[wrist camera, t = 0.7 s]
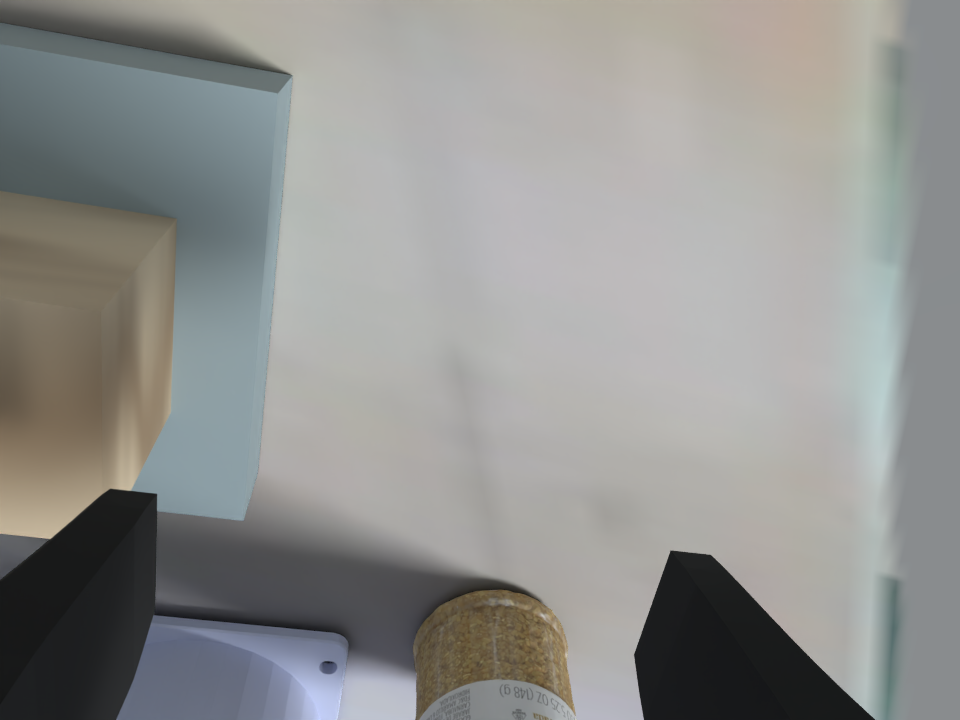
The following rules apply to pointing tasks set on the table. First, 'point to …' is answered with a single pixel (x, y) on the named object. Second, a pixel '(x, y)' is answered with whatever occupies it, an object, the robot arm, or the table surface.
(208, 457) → the deck
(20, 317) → the block
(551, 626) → the sprinkles bottle
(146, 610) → the robot arm
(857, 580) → the table surface
